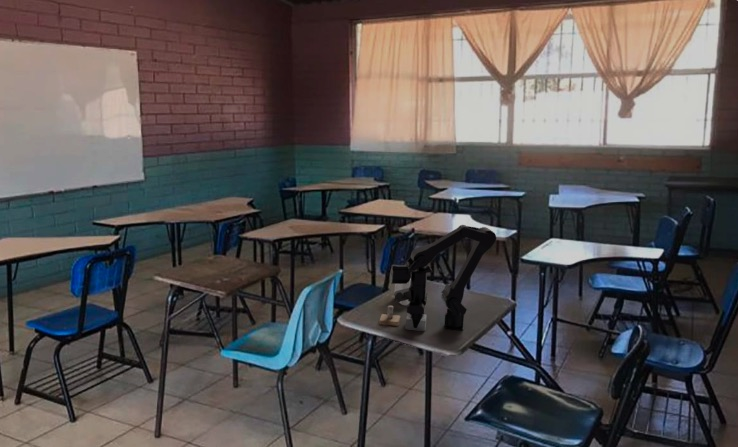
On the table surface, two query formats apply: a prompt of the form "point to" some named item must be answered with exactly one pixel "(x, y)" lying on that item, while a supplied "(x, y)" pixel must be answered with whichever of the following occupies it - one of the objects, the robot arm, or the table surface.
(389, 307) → the tan knobbed plate
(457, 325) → the robot arm
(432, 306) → the table surface
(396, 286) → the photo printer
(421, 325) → the hollow square frame
